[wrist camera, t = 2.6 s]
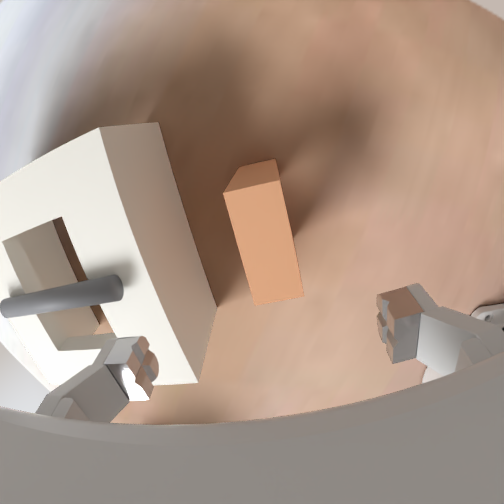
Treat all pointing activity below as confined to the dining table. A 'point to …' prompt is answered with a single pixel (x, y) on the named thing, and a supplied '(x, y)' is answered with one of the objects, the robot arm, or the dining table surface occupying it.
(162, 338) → the shelf
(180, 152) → the dining table surface
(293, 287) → the notched wooden block
